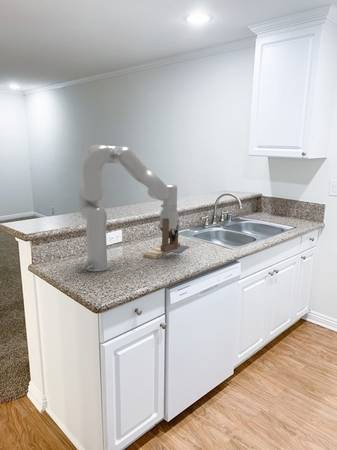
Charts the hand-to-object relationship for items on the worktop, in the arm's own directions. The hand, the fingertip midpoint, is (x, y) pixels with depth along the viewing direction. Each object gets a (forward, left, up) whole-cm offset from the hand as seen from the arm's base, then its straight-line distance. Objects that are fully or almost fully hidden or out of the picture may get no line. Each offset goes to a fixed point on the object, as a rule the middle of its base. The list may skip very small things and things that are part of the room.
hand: (169, 240), depth 189 cm
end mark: (+14, 0, -9) cm, 17 cm away
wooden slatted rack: (+6, +7, -9) cm, 13 cm away
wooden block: (0, 0, -6) cm, 6 cm away
